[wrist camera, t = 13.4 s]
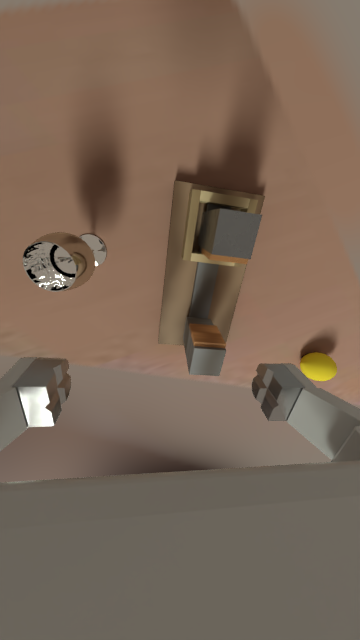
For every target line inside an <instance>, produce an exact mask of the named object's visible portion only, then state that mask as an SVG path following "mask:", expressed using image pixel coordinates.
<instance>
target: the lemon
mask: <svg viewBox="0 0 360 640" xmlns="http://www.w3.org/2000/svg"><path fill="white" fill-rule="evenodd" d="M300 367H301V370H302V372H303V373H304V374H305V375H306V376H307V377H308V378H310V379H313V380H317V381H326V380H329V379H331V378H333V377H334V376H335V374H336V372H337V367H336V363H335V362H334V361H333V360H332V358H330V357H329V356H327V355H326V354H323V353H318V352H314V353H309V354H307V355H305V356H303V358H302V359H301V362H300Z"/></svg>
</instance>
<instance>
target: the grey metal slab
mask: <svg viewBox="0 0 360 640" xmlns="http://www.w3.org/2000/svg"><path fill="white" fill-rule="evenodd" d="M261 217H262V215H260V214H254V213H247V212H241V211H234V210H228V209H221V208H219V209H215V210H210V211H205V212H203V213H202V219H201V226H200V232H199V238H198V245H199V246H200V247H202V250H201V253H202V254H203V255H204V256H206V257H207V258H208V259H209V260H215V261H224V262H232V263H240V264H247V262H248V259H251V255H252V251H253V247H254V244H255V240H256V236H257V232H258V229H259V225H260V221H261Z"/></svg>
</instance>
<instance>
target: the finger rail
mask: <svg viewBox="0 0 360 640" xmlns="http://www.w3.org/2000/svg"><path fill="white" fill-rule="evenodd" d="M264 198H265V196H263V195H257V194H251V193H245V192H240V191H234V190H228V189H222V188H217V187H211V186H205V185H199V184H194V183H188V182H182V181H176V180H175V182H174V191H173V201H172V210H171V220H170V230H169V240H168V250H167V259H166V269H165V279H164V289H163V299H162V309H161V318H160V328H159V338H158V344H172V345H184V347H185V353H186V358H187V364H188V370H189V374H193V375H211V376H219V375H220V371H221V368H222V364H223V360H224V357H225V353H226V349H225V347H226V341H227V337H228V333H229V329H230V326H231V322H232V318H233V314H234V311H235V307H236V303H237V299H238V296H239V292H240V288H241V284H242V281H243V277H244V273H245V269H246V266H247V264H240V263H232V262H224V261H215V260H209V259H208V258H207V257H206V256H204V255H203V254H202V253H201V250H202V247H200V246H199V245H198V238H199V232H200V226H201V219H202V213H203V212H205V211H210V210H215V209H219V208H221V209H228V210H234V211H241V212H247V213H254V214H260V213H261V209H262V206H263V202H264Z"/></svg>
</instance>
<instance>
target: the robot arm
mask: <svg viewBox="0 0 360 640" xmlns="http://www.w3.org/2000/svg"><path fill="white" fill-rule="evenodd" d="M68 369H69V364H68V360H67V359H61V358H37V357H23V358H21V359H19V360H18V361H17V363H16V364H15V365H14V366H13V367H12V368H11V369H10V370H9V371H8V372H7V373H6V374H5V375H4V376H3V377H2V378H1V379H0V451H1V450H2V449H4V448H5V447H6V446H7V445H8V444H10V443H11V442H12V441H13V440H14V439H16V438H17V437H18V436H19V435H20V434H22V433H23V432H24V431H25V430H26V429H27V427H40V426H54V425H55V423H56V421H57V419H58V416H59V415H60V412H61V404H62V403H63V402H65V401H66V400H67V398H68V396H69V392H70V388H71V377H70V376H69V375H68V374H67V373H66V372H67V370H68ZM256 371H257V374H258V375H257V376H256V377H254V378H253V382H252V392H253V395H254V397H255V398H256V400H258V401H259V402H260V403H261V409H262V411H263V413H264V414H265V416H266V418H267V419H268V421H287V422H288V423H289V424H290V425H291V426H292V427H294V428H295V429H296V430H297V431H298V432H300V433H301V434H302V435H303V436H304V437H305V438H306V439H308V440H309V441H310V442H311V443H312V444H313V445H315V446H316V447H317V448H318V449H319V450H320V451H322V452H323V453H324V454H325V455H326V456H327V457H329V458H330V459H331V460H332V461H331V462H326V463H325V462H324V463H309V464H294V465H277V466H261V467H246V468H230V469H214V470H199V471H183V472H166V473H149V474H134V475H117V476H101V477H86V478H85V477H84V478H68V479H53V480H36V481H21V482H4V483H0V640H360V409H359V408H357V407H355V406H353V405H351V404H350V403H348V402H346V401H344V400H342V399H340V398H338V397H336V396H334V395H332V394H331V393H329V392H327V391H325V390H323V389H321V388H317V387H316V386H315V385H314V384H313V383H312V382H311V381H310V380H309V379H308V378H307V377H306V376H305V375H304V374H303V373H302V372H301V371H300V370H299V369H298V368H297V367H296V366H295V365H293V364H291V363H281V364H262V363H260V364H259V365H258V367H257V370H256Z"/></svg>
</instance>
